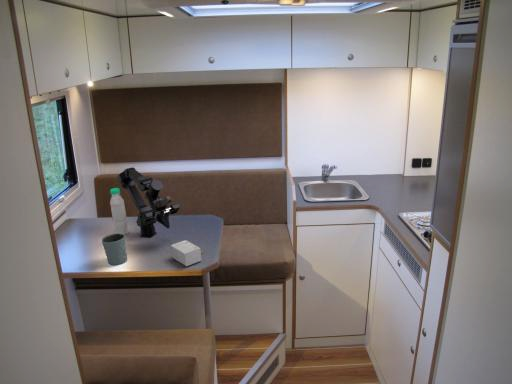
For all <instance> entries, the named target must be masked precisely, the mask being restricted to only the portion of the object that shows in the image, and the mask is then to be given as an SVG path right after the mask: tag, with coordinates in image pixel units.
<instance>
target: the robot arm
mask: <svg viewBox="0 0 512 384" xmlns="http://www.w3.org/2000/svg"><path fill="white" fill-rule="evenodd" d="M116 177H117V178H116V179H117V182H118V184H120V187H121V188H123V189H125V190H126V191H127V193H128V195H129V196H130V198H131V200H132V202H133V204H134V205H135V207H136V210H137V211H138V213H137V219H136V224H137V225H136V226H138V227H139V228H140V233H141V235H139V237H140V238H148V239H150V238H152V237H154V236H155V235H156V234H157V231H156V227H155V225H154V224H156V223H159V224H161V225H162V226H164V227H165V228H166V229H170V228H171V227H170V219H169V218H170V217H169V216H170V215H174V214H175V215H176V214H177V213H178V212H179V211H180V209H181V206H180V204H179V203H178V202H177V203H173V204H171V203H172V198H171V196H170V195H168V196H165V197H164V198H161V197H160V194H161V192H162V191H163V188H164V184H163V182H162V181H161V180H159V179H157V178H156V177H155V178H154V177H153V178H152V177H150V176H145V175H143V173H141V172H139V171H137V169H136V168H135V167H128V168H125V169H124V170H123V171H122V172H121V173H119V174H117V176H116ZM136 184H137V185H136ZM138 189H139V190H138ZM139 191H140V192H142V193H143V192H145V194H144V198H145V199H147V200H146V201H148V204H149V205H147V204H146V202H145V200H144V199H143V197H142V196H141V194H140V192H139ZM169 205H170V206H169ZM168 206H169V207H168Z"/></svg>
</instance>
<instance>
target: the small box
mask: <svg viewBox="0 0 512 384" xmlns="http://www.w3.org/2000/svg"><path fill="white" fill-rule="evenodd" d="M170 250H171V258H173V259H175V261H177V262H178V263H179V262H180V264H182V265H184V267H188V266H190V265H193V264H197V263H199V262H201V261H202V254H201V250H202V249H201V247H199V246H197V245H195V244H193V243H192V242H190V241H189V240H185V239H184V240H181V241H179V242H176V243H173V244H171V245H170Z"/></svg>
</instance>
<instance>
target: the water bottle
mask: <svg viewBox="0 0 512 384" xmlns="http://www.w3.org/2000/svg"><path fill="white" fill-rule="evenodd" d="M109 193H110V195H111V198H110V200H109V201H110V202H109V205H110V209H111V215H112V221H113V227H114V234H116V233H121V234H124V235H125V236H126V235H128V234H129V232H130V228H129V224H128V220H127V213H126V206H125V200H124V199H123V198H122V195H121V190H120V188H118V187H114V188H113V187H112V188H111V189H110V191H109Z"/></svg>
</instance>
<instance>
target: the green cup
mask: <svg viewBox="0 0 512 384" xmlns="http://www.w3.org/2000/svg"><path fill="white" fill-rule="evenodd" d="M101 244H102V246H103V250H104V253H105V256H106V259H107V260H106V261H107V263H108V265H109V266H112V267H114V266H115V267H116V266H121V265H123V264H125V263H127V262H128V253H127V243H126V235H124V234H121V233H116V234H115V233H112V234H108V235H106V236H104V237H102V238H101Z"/></svg>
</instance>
